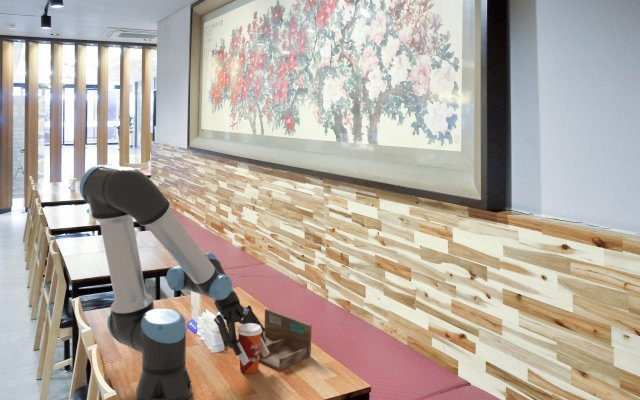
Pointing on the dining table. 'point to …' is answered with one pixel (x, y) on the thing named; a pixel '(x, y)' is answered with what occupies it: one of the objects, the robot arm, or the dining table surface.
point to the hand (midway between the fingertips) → (256, 359)
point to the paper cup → (250, 346)
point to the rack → (285, 340)
